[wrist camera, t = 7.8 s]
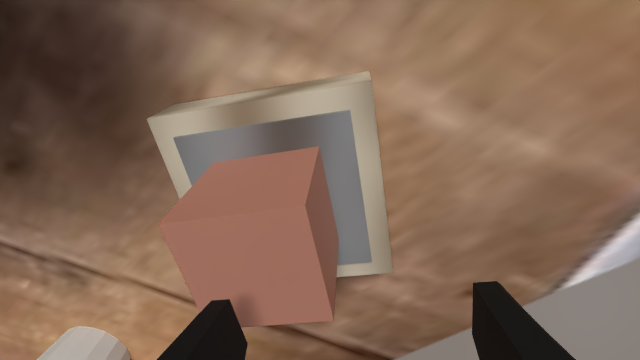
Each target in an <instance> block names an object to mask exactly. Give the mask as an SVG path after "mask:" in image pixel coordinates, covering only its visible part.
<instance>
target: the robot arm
mask: <svg viewBox="0 0 640 360" xmlns="http://www.w3.org/2000/svg"><path fill="white" fill-rule="evenodd" d="M472 335H473V339H474V342H475V346H476V349H477V353H478V356H479V359H480V360H576V359H574V358H573V357H572V356H571V355H570V354H569V353H568V352H567V351H566V350H565V349H564V348H563V347H562V346H561V345H560V344H558V342H557V341H555V340H554V339H553V338H552V337H551V336H550V335H549V334H548V333H547V332H546V331H545V330H544V329H543V328H542V327H541V326H540V325H539V324H538V323H537V322H536V321H535V320H534V319H533V318H532V317H531V316H530V315H529V314H528V313H527V312H526V311H525V310H524V309H523V308H522V307H521V306H520V305H519V303H518V302H517V301H516V300H515V299H514V298H513V297H512V296H511V295H510V294H509V293H508V292H507V291H506V290H505V288H504V287H503V286H502V285H501V284H500V283H498V282H497V281H493V282H478V283H473V318H472ZM246 350H247V341H246V339H245V336H244V334H243V331H242V329H241V326H240V324H239V321H238V319H237V316H236V314H235V311H234V309H233V306H232V304H231V302H230V299H225V300H211V302H210V303H209V304H208V305H207V306H206V307H205V308H204V309H203V310H202V311H201V312H200V313H199V314H198V315H197V316H196V318H195V319H194V320H193V321H192V322H191V323H190V324H189V325H188V326H187V327H186V329H185V330H184V331H183V332H182V333H181V334H180V335H179V336H178V337H177V338H176V340H175V341H174V342H173V343H172V344H171V345H170V346H169V347H168V348H167V349H166V350H165V351H164V352H163V354H162V355H161V356H160V357H159V358H158V359H157V360H245V355H246Z"/></svg>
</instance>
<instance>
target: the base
mask: <svg viewBox="0 0 640 360" xmlns="http://www.w3.org/2000/svg"><path fill="white" fill-rule="evenodd" d="M147 121H148V124H149V126H150V128H151V131H152V133H153V136H154V138H155V140H156V143H157V145H158V148H159V150H160V153H161V155H162V157H163V160H164V162H165V165H166V167H167V169H168V172H169V174H170V177H171V179H172V181H173V184H174V186H175V189H176V191H177V193H178V196H179V198H180V199H181V198H182V197H183V196H184V195H185V193H186V192H187V191H188V190H189V189H190V188H191V187H192V186H193V185H194V183H195V182H196V181H197V180H198V179H199V178H200V177H201V176H202V175H203V174H204V172H205V171H206V170H207V169H208V168H209V167H210V166H211V165H212V164H213V163H215V162H222V161H228V160H234V159H241V158H247V157H254V156H260V155H266V154H273V153H279V152H286V151H292V150H299V149H305V148H311V147H318V146H319V147H320V152H321V157H322V162H323V166H324V171H325V176H326V181H327V185H328V190H329V195H330V200H331V204H332V209H333V214H334V219H335V223H336V228H337V233H338V238H339V243H338V260H337V277H345V276H358V275H371V274H384V273H393V269H392V260H391V251H390V242H389V233H388V224H387V215H386V206H385V197H384V188H383V179H382V170H381V161H380V153H379V144H378V135H377V126H376V117H375V108H374V99H373V90H372V81H371V77H370V74H369V71H366V72H360V73H355V74H349V75H343V76H337V77H331V78H325V79H320V80H314V81H308V82H302V83H296V84H290V85H285V86H279V87H273V88H267V89H261V90H256V91H250V92H244V93H238V94H232V95H226V96H221V97H215V98H209V99H203V100H197V101H192V102H186V103H180V104H174V105H171V106H170V107H168V108H166V109H164V110H162V111H160V112H158V113H156V114H155V115H153V116H151V117H149V118H147Z"/></svg>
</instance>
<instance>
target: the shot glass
mask: <svg viewBox="0 0 640 360" xmlns="http://www.w3.org/2000/svg"><path fill="white" fill-rule="evenodd" d="M130 359H131V357H130V354H129V352H128V349H127V348H126V347H125V346H124V345H123V344H122V343H121V341H120V340H119V339H117V338H115V337H114V336H112V335H110V334H109V333H107V332H105V331H102V330H99V329H96V328H93V327H81V326H78V327H74V328H71V329H68V330H67V331H66V332H65V333H64V334H63V335H62V336H61V337H60V338H59V339H58V340H57V341H55V342H54V343H53V344H52V345H51V346H50V347H49V348H48V349H47V350H46V351H45V352H44V353H43V354H42V355H41V356H40V357H39V358H38V359H37V360H130Z"/></svg>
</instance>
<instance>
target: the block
mask: <svg viewBox="0 0 640 360" xmlns="http://www.w3.org/2000/svg"><path fill="white" fill-rule="evenodd" d="M158 226H159V228H160V230H161V232H162V234H163V236H164V238H165V240H166V243H167V245H168V247H169V249H170V251H171V253H172V255H173V257H174V259H175V261H176V263H177V265H178V267H179V269H180V272H181V274H182V276H183V278H184V280H185V282H186V284H187V286H188V288H189V290H190V292H191V294H192V296H193V298H194V300H195V303H196V305H197V307H198V309H199V311H200V312H201V311H202V310H203V309H204V308H205V307H206V306H207V305H208V304H209V303H210V302H211V300H225V299H230V302H231V304H232V306H233V309H234V311H235V314H236V316H237V319H238V321H239V324H240V326H241V327H253V326H267V325H282V324H296V323H310V322H325V321H334V311H335V294H336V277H337V260H338V243H339V238H338V233H337V228H336V223H335V219H334V214H333V209H332V204H331V200H330V195H329V190H328V185H327V181H326V176H325V171H324V166H323V162H322V157H321V152H320V147H319V146H318V147H311V148H305V149H299V150H292V151H286V152H279V153H273V154H266V155H260V156H254V157H247V158H241V159H234V160H228V161H222V162H215V163H213V164H212V165H211V166H210V167H209V168H208V169H207V170H206V171H205V172H204V174H203V175H202V176H201V177H200V178H199V179H198V180H197V181H196V182H195V183H194V185H193V186H192V187H191V188H190V189H189V190H188V191H187V192H186V193H185V195H184V196H183V197H182V198H181V199H180V200H179V201H178V202H177V203H176V205H175V206H174V207H173V208H172V209H171V210H170V211H169V212H168V213H167V215H166V216H165V217H164V218H163V219H162V220H161V221H160V222H159V223H158Z"/></svg>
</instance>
